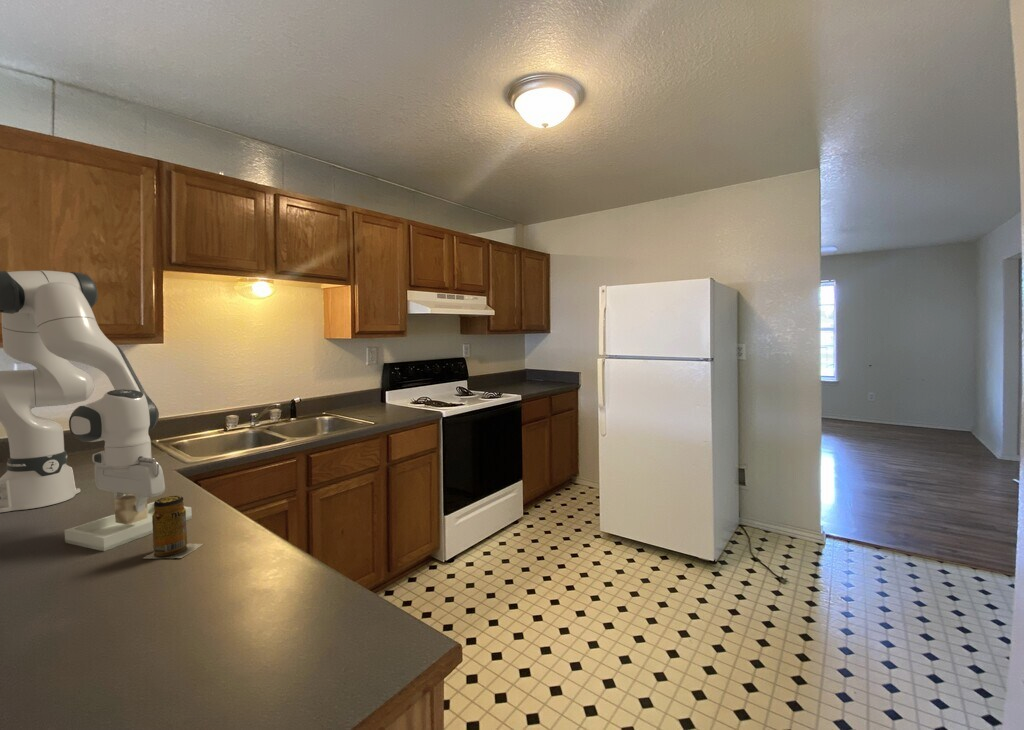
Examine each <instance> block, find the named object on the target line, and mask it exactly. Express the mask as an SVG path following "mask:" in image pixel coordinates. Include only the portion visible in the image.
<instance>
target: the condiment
mask: <svg viewBox="0 0 1024 730" xmlns="http://www.w3.org/2000/svg"><path fill="white" fill-rule="evenodd" d="M153 502H154V511H155V512H154V513H153V515H152V524H153V533H152V542H153V543H152V544H153V552H152V553H150V554H148V555H145V556H144V557H143V559H146V560H147V559H153V560H154V559H155V560H156V559H157V560H158V559H159V560H160V559H182V558H184V557H186V556H187V555H189V554H191V553H192V552H194V551H196V550H197V549H199V548H200V547H201V546H203V545H204V543H188V536H187V533H188V531H187V521H186V509H185V508H184V506H185V505H184V504H185V503H184V497H183V496H181V495H169V496H164V497H160V498H158V499H155V501H153Z"/></svg>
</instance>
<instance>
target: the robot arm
mask: <svg viewBox="0 0 1024 730" xmlns="http://www.w3.org/2000/svg"><path fill="white" fill-rule="evenodd" d="M98 297H99V295H98V287H97V285H96V283H95V281H94V279H92V277H90V276H89V275H88V274H85V273H81V272H76V271H69V272H67V271H58V270H57V271H56V270H41V269H40V270H39V269H38V270H18V271H16V270H15V271H6V270H0V313H1V318H0V319H1V334H2V336H1V337H2V348H3V351H4V352H5V354H7V356H9V357H10V358H12V359H14V360H17V361H19V362H22V363H25V364H28V365H31V366H33V367H34V368H35V369H19V370H13V369H12V370H0V423H1V426H3V428H4V430H5V432H6V436H7V440H8V447H9V458H7V462H6V472H5V473H4V474H3V475H1V477H0V513H6V512H12V511H21V510H29V509H36V508H42V507H47V506H51V505H56V504H60V503H63V502H66V501H68V500H71V499H72V498H74V497H75V496H76V495H77V494H79V493H81V488H79V487H76V483H75V476H74V471H73V467H71V466H70V465H68V464H67V463H68V454H67V450H65V438H64V437H65V436H64V428H63V426H62V425H61V423H59V422H57V421H55V420H52V419H48V418H45V417H40V416H37V415H35V414H34V413H33V412H32V409H35V408H42V407H58V406H68V405H72V404H76V403H81V402H86V401H87V400H88V399H90V398H91V396H92V394H93V393H94V389H95V382H94V379H93V378H92V375H90V374H89V373H88V372H87V371H85V370H83V369H81V368H79V367H77V366H75V365H74V364H72V362H75V363H80V364H85V365H86V366H87V365H88V366H90V367H93V368H96V369H97V370H99V371H101V372H103V374H105V375H106V377H107V378H108V379H109V382H110V384H111V386H112V387H113V390H109V391H107V392H105V393H104V394H103V396H102V397H101V398H100V399H97V400H95V401H92V402H89V403H87V404H83V405H79V406H77V407H76V408H75V409H74V410H73V411H72V413H71V414H70V416H69V420H68V427H69V428H68V429H69V432H70V434H71V435H72V436H73V437H74V438H76V439H77V440H79V441H81V442H84V443H94V442H95V443H96V442H101V441H104V450H101V451H99V452H95V453H93V454H92V456H91V457H92V463H95V464H94V467H93V469H94V471H93V472H94V473H93V475H94V481H95V486H96V487H97V489H98V490H100V491H105V492H106V491H107V492H112V493H113V498H114V499H115V498H118V497H122V496H125V495H129V494H130V495H135V499H137V501H136V505H133V508H134V512H142V511H144V510H145V503H146V501H147V502H148V499H149V498H153V497H156V496H160V495H162V494H164V492H165V490H166V485H165V484H166V483H165V477H164V473H163V472H164V471H163V468H162V466H161V464H160V463H159V462H157V460H156V459H155V458H153V457H152V440H151V437H150V435H149V433H150V432H151V431H152V430H153V429H154V428H155V426H156V425H157V424H158V422H159V418H160V413H159V409H158V407H157V406H156V404H155V403H154V401H152V399H151V398H150V397H149V395H148V394H147V392H146V391H145V389H144V387H143V385H142V383H141V381H140V379H139V378H138V376H137V375H136V372H135V370H134V369H133V367H132V365H131V363H130V361H129V359H128V358H127V356H126V355H125V353H124V352H123V350H122V349H121V348H120V346H118V345H117V344H115V343H113V341H111V340H110V339H109V338H108V337H107V336H106V335H105V334H104V332H103V331H102V330H101V329H100V327H99V324H98V322H97V319H96V317H95V314H94V311H93V309H92V308H93V307H94V306H95V305H96V304H97V302H98ZM70 361H71V362H70Z"/></svg>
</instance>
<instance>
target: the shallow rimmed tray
mask: <svg viewBox="0 0 1024 730" xmlns="http://www.w3.org/2000/svg"><path fill="white" fill-rule="evenodd" d="M154 502H155V501H152V502H149V503H147V514H148V518H146V519H143V520H140V521H138V522H135V523H132V524H129V525H126V524H121V523H116V522H115V513H114V514H111V515H108V516H104V517H102V518H98V519H95V520H92V521H88V522H85V523H83V524H80V525H77V526H73V527H69V528H67V529H64V542H65V544H70V545H75V546H79V547H83V548H89V549H92V550H95V551H96V550H97V551H101V552H107V551H109V550H111V549H115V548H117V547H119V546H122V545H125V544H128V543H130V542H132V541H135V540H138V539H141V538H143V537H146V536H149V535H153V524H152V515H153V513H154V512H155V511H154ZM184 508H185V509H186V522H187V521H189V520H191V519H193V515H192V514H193V512H192V510H193V509H192V507H191V506H185V505H184Z"/></svg>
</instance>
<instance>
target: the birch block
mask: <svg viewBox="0 0 1024 730" xmlns="http://www.w3.org/2000/svg"><path fill="white" fill-rule="evenodd" d="M136 501H137V499H135V495H130V494H125V496H122V497H118V498H114V514H115V522H116V523H121V524H126V525H129V524H132V523H135V522H138V521H140V520H143V519H146V518H148V514H147V504H148V500H147V501H146V503H145V510H144V511H142V512H134V508H133V505H136Z"/></svg>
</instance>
